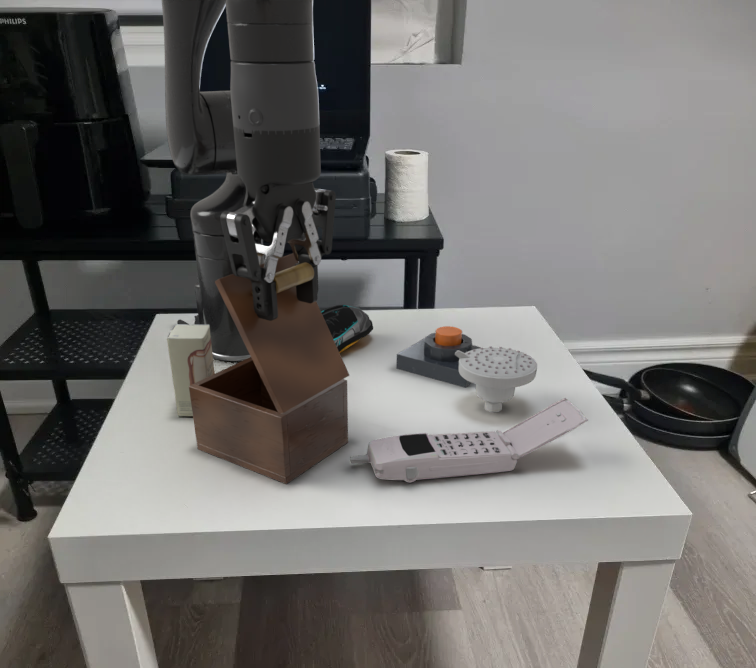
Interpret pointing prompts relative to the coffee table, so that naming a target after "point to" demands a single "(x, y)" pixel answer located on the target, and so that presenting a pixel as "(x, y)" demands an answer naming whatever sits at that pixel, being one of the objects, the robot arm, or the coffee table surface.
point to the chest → (266, 423)
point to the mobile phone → (468, 447)
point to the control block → (435, 360)
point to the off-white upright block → (189, 361)
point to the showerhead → (496, 373)
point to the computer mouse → (346, 325)
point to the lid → (286, 336)
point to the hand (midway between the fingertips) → (287, 309)
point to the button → (448, 336)
